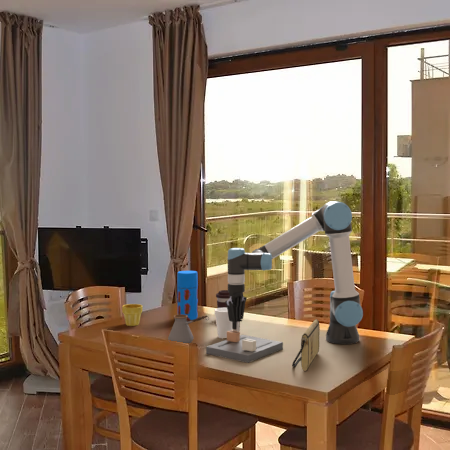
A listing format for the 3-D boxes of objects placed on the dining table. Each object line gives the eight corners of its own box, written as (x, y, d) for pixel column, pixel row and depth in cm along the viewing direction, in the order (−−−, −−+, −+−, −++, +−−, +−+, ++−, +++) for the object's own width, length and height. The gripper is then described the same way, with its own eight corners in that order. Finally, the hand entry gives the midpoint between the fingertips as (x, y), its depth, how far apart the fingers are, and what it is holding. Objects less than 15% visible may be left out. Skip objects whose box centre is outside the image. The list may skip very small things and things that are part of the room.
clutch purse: (303, 351, 265) (304, 317, 264) (320, 353, 263) (320, 318, 262) (289, 372, 237) (289, 333, 236) (307, 373, 235) (307, 335, 234)
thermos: (197, 320, 324) (196, 273, 323) (176, 320, 324) (176, 273, 323) (198, 316, 335) (198, 270, 333) (178, 316, 335) (178, 270, 334)
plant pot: (146, 325, 314) (146, 306, 314) (127, 327, 309) (127, 308, 308) (137, 321, 323) (137, 302, 322) (119, 323, 317) (118, 305, 316)
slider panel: (282, 348, 269) (282, 341, 269) (248, 362, 249) (248, 355, 249) (242, 340, 283) (242, 334, 283) (206, 353, 262) (206, 346, 262)
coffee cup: (217, 316, 334) (217, 289, 333) (235, 317, 332) (235, 289, 331) (214, 320, 324) (214, 292, 323) (233, 321, 322) (233, 293, 321)
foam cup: (237, 335, 293) (237, 308, 292) (229, 340, 284) (229, 312, 283) (219, 333, 297) (219, 307, 296) (211, 338, 288) (211, 310, 287)
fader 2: (256, 349, 256) (256, 340, 255) (252, 351, 253) (252, 341, 253) (246, 347, 259) (246, 338, 258) (242, 349, 256) (242, 339, 256)
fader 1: (239, 340, 270) (239, 331, 270) (235, 342, 268) (235, 333, 268) (230, 339, 273) (230, 330, 273) (226, 340, 271) (226, 331, 271)
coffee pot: (162, 344, 277) (162, 311, 276) (179, 339, 286) (179, 307, 285) (199, 352, 264) (199, 318, 263) (216, 346, 273) (215, 313, 272)
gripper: (238, 280, 278) (238, 331, 280) (220, 284, 268) (220, 337, 269) (251, 282, 273) (251, 334, 275) (234, 286, 263) (234, 340, 265)
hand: (236, 336), depth 272 cm, fingers closed
